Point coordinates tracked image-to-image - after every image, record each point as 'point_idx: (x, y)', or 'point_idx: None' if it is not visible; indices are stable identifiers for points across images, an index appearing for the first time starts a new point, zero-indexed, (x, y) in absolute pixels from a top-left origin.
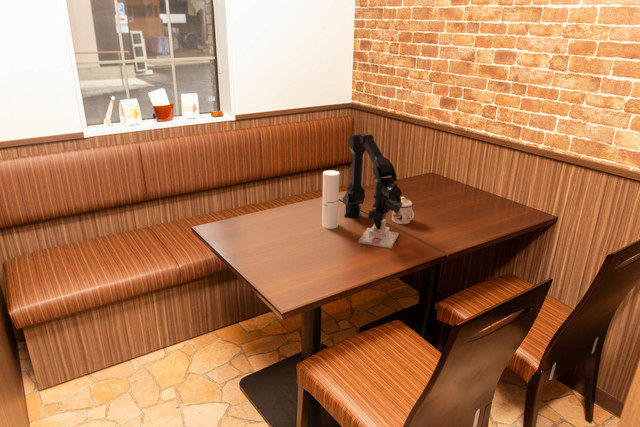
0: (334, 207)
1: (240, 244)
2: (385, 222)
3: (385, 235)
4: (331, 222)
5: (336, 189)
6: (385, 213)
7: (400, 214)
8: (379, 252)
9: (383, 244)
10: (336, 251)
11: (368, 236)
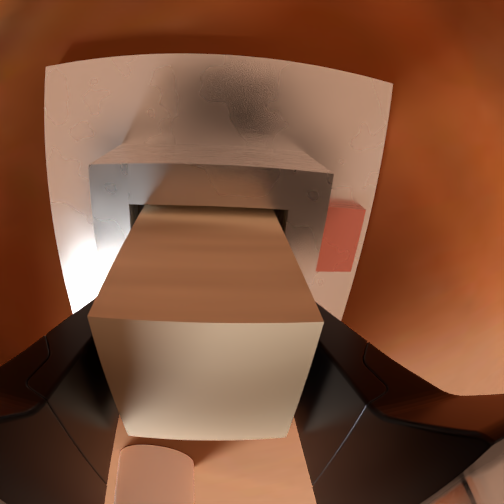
0: None
1: None
2: (136, 265)
3: (324, 169)
4: (188, 484)
5: None
6: (32, 419)
7: None
8: (449, 176)
9: (371, 160)
10: (425, 378)
11: None
